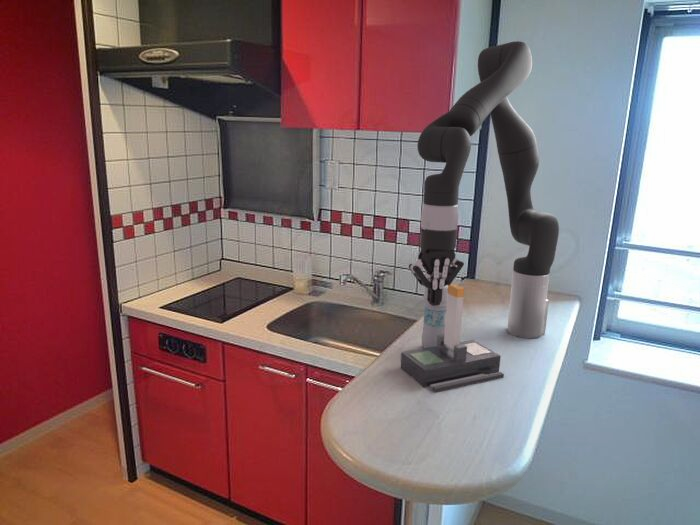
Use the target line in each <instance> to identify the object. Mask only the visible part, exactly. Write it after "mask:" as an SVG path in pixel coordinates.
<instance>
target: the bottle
mask: <svg viewBox="0 0 700 525" xmlns="http://www.w3.org/2000/svg"><path fill="white" fill-rule="evenodd" d="M423 292H424V293H423V303H424V311H423V312H424V313H423V326H422V334H421V344H422V347H423V348H428V347H434V346H437V335H442V334H445V322H446V308H447V294H448V293H447V292H448V285H446V286H444V288H443V290H442V301H441V302H440V305H437V306H432V305H430V304H429V302H428V301H427V293H428V288H426V287H425V286H424V291H423Z"/></svg>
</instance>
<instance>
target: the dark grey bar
mask: <svg viewBox="0 0 700 525" xmlns="http://www.w3.org/2000/svg"><path fill="white" fill-rule="evenodd" d="M504 376H505V373H503V372H500V371H499V372H497V373H492V374H487V375H485V374H479V375H474V376H470V377H465V378H460V379H455V380H450V381H446V382H441V383H436V384H431V385H430V387H429V389H431V391H432V392H434V393H440V392H444V391H448V390H453V389H454V390H455V389H458V388H462V387H467V386H471V385H476V384H481V383H485V382H486V383H487V382H490V381H495V380H500V379H503V378H504Z"/></svg>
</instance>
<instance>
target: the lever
mask: <svg viewBox="0 0 700 525" xmlns="http://www.w3.org/2000/svg"><path fill="white" fill-rule="evenodd" d="M447 293H448V294H447V308H446V322H445V336H444V346H445V347H446V348H448V349H449V350H451V351H452V352H454V346H456V345H460V342H461V332H462V331H461V330H462V320H463V319H462V316H463V315H462V314H463V305H464V304H463V302H464V296H465V295H464V294H465V287H463V286H460V285H458V284H457V283H456V284H455V283H451V284H450V285H448V292H447Z"/></svg>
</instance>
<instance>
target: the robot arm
mask: <svg viewBox="0 0 700 525" xmlns="http://www.w3.org/2000/svg"><path fill="white" fill-rule="evenodd" d="M532 56H533V55H532V52H531V50H530V47H529V46H528V44H527V43H525V42H524V41H521V40H520V41H518V40H517V41H509V42H506V43H502V44H498V45H494V46H490V47H487V48H484V49H482V50H481V51H480V53H479V55H478V58H477V72H478V78H479V83H477V84H475V85H474V86H473V87H471V88H470V89H468V90H467V91H466V92H465V93H464V94H463V95H461V96H460V97H459V99H457V101H456V102H455V103H454V105H452V107H451V108H450V109H449V110H448V111H447V112H446V113H444V114H443V115H441V116H439V117H438V118H437V119H435V120H433V121H432V122H430V123H429V124H427V125H426V127H425V128H424V129H423V130H422V131H421V133H420V135H419V137H418V139H417V140H418V141H417V152H418V156H420V158H421V159H423V160H424V161H426V162H429V163H445V165H444V167H443V170H442V171H441V172H440V173H435V174H431V175H428V176H426V178H424V179H425V180H424V185H423V204H422V210H421V217H420V234H419V235H420V236H419V237H420V238H419V247H420V252H419V254H418V257H417V258H418V259H417V260H416V261H415V262H414V263H409V265H408V269H409V271H410V272H411V273H412V275H413V276H414V278H415V279H416V280H417V282H418V283H419V284H420V285H421V286H423V287H424V288H425V287H426V288H428V293H427V301H428V302H429V304H430V305H432V306H437V305H440V302H441V301H442V290H443V288H444V286H446V285H450V284H453V281H454V280H455V278H456V277H457V275H458V274H459V273H460V272H461V270H462V268H464V266H465V265H464V264H465V263H464V261H461V260H459V259H458V258H457V257H456V252H455V249H456V248H457V237H458V236H457V235H458V223H459V222H458V221H459V210H458V208H459V207H458V206H459V187H460V184H461V180H462V176H463V174H464V171H465V168H466V164H467V161H468V159H469V156H470V153H471V150H472V149H471V148H472V139H471V137H472V136H473V135H474V134H475V133H476V132H477V131H478V129H479V128H480V126H482V125H483V122H484V121H485V120H486V118H487V117H488V116H489V115H490V118H491V123H492V127H493V132H494V137H495V143H496V150H497V155H498V159H499V163H500V167H501V171H502V176H503V182H504V187H505V193H506V200H507V208H508V222H509V228H510V233H511V236H512V238H513V239H514V240H515V242H517V243H519V244H521V245H524V246H529V248H528V251H527V255H526V256H522V257H517V258H515V259H514V261H513V268H512V276H511V286H510V288H511V289H510V295H509V296H510V298H509V305H508V306H509V307H508V309H509V310H508V317H507V325H506V328H507V329H506V330H507V332H508V333H509V334H511V335H513V336H514V337H515V336H516V337H519V338H524V339H536V338H540V337H542V336H543V335H544V334H546V329H547V320H548V312H549V304H550V300H549V299H548V298H547V297H548V290H549V280H550V273H551V267H552V265H553V263H554V261H555V257H556V252H557V251H556V250H557V245H558V240H559V234H560V226H559V220H558V218H557V217H556V216H555V215H554V214H551V213H548V212H545V211H543V212H542V211H537V210H535V209H534V206H533V201H532V194H531V193H532V192H531V188H532V185H533V182H534V179H535V177H536V175H537V172H538V169H539V165H540V154H539V149H538V144H537V143H538V142H537V139H536V135H535V133H534V131H533V130H532V128H531V127H530V126H529V125H528V123H527V122H526V121H525V120H524V119H523V118H522V117H521V116H520V114H518V112H517V111H516V110H515V108H514V107H513V106H512V104H511V102H510V100H509V98H508V96H509V95H510V94H511V93H512V92H513V91H514V90H516V89H517V88H518V87H519V86H521V84H523V83H524V82H525V81H526V80H527V79H528V78H529V76H530V73H531V72H532V67H533V57H532ZM424 271H425V272H424Z"/></svg>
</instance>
